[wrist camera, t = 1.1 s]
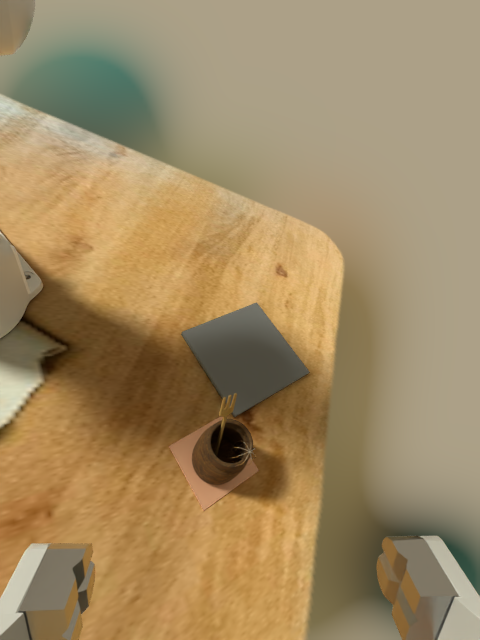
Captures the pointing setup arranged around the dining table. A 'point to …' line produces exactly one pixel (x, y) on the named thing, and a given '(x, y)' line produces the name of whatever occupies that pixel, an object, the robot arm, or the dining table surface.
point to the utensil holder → (222, 448)
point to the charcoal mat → (245, 356)
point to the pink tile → (201, 489)
